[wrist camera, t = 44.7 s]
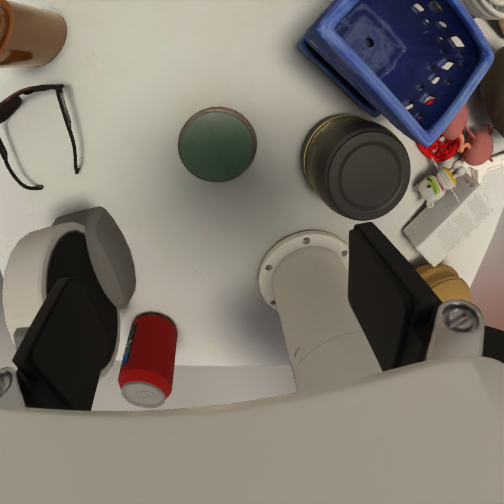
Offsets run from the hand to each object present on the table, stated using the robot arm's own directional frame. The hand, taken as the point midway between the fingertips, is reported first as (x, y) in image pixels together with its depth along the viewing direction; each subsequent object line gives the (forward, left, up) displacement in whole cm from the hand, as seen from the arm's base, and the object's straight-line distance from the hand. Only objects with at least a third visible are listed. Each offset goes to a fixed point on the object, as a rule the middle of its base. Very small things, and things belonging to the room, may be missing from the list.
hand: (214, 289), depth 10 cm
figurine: (+2, -33, -23) cm, 40 cm away
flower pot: (+9, -17, -24) cm, 31 cm away
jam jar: (+18, +17, -24) cm, 34 cm away
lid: (0, 0, -22) cm, 22 cm away
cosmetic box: (-8, -32, -20) cm, 39 cm away
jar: (-3, -13, -16) cm, 21 cm away
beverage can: (-23, +14, -24) cm, 36 cm away
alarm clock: (-10, +18, -24) cm, 32 cm away
